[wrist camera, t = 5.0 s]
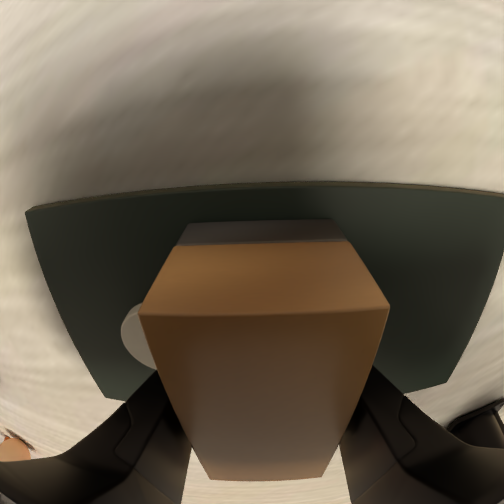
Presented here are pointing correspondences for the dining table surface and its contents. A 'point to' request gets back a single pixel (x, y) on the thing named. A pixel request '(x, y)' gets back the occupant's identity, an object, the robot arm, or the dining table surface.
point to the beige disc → (136, 338)
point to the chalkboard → (279, 208)
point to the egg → (14, 450)
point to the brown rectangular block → (264, 343)
